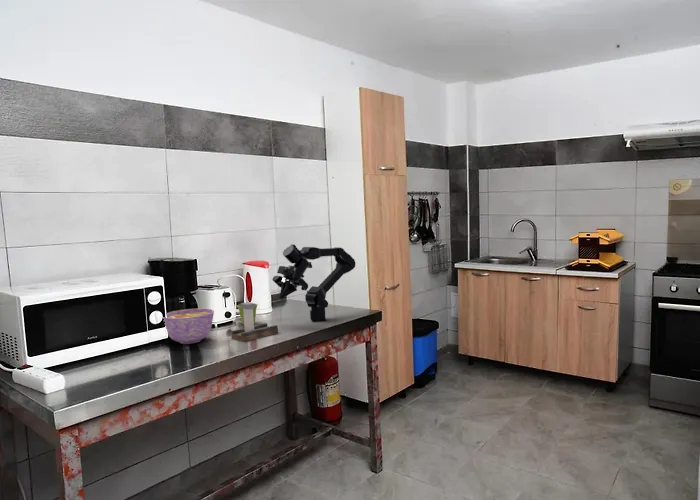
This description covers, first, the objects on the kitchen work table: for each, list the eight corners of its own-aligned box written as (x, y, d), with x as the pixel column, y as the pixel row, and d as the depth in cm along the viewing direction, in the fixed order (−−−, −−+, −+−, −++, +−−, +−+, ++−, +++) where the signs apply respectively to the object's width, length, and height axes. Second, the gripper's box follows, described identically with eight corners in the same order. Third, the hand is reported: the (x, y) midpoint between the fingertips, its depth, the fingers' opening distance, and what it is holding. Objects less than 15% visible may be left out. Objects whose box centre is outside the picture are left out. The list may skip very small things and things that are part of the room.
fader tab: (249, 330, 210) (247, 302, 210) (256, 331, 207) (254, 303, 206) (242, 331, 208) (240, 303, 207) (249, 333, 205) (248, 304, 204)
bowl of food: (165, 338, 212) (163, 311, 211) (214, 333, 218) (212, 306, 217) (162, 350, 193) (160, 320, 192) (217, 344, 199) (215, 315, 198)
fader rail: (265, 330, 219) (264, 323, 219) (278, 333, 213) (277, 325, 212) (231, 338, 207) (231, 330, 206) (244, 341, 200) (243, 333, 200)
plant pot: (261, 321, 239) (260, 302, 238) (255, 325, 230) (254, 306, 229) (241, 321, 240) (240, 303, 239) (235, 326, 231) (234, 307, 230)
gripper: (274, 257, 228) (255, 285, 221) (301, 259, 215) (282, 289, 208) (288, 272, 234) (271, 300, 227) (316, 275, 221) (298, 304, 214)
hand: (280, 298), depth 219 cm, fingers closed
